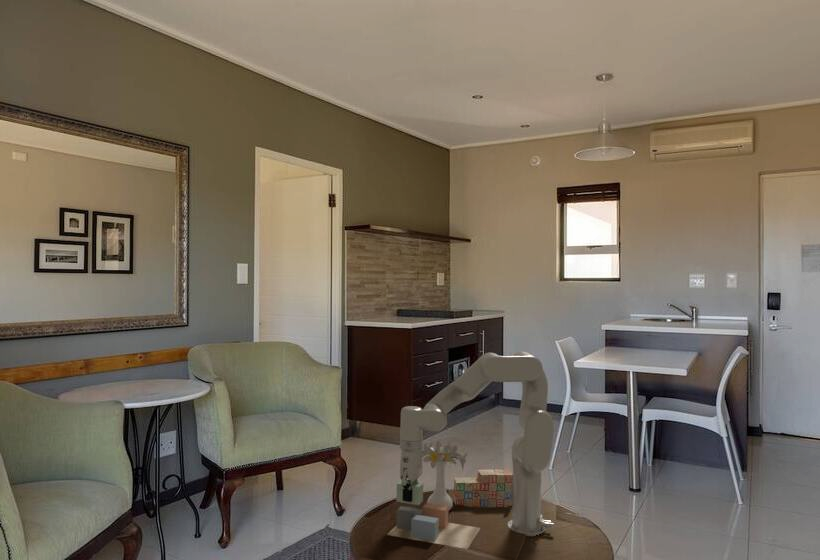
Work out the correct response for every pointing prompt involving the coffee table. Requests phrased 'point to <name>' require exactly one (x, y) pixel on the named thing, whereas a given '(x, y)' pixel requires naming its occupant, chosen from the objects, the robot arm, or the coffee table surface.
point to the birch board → (445, 535)
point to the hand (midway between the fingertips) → (409, 498)
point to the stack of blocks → (485, 489)
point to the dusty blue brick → (425, 528)
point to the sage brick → (416, 493)
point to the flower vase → (441, 469)
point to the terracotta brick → (437, 513)
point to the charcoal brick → (406, 516)
